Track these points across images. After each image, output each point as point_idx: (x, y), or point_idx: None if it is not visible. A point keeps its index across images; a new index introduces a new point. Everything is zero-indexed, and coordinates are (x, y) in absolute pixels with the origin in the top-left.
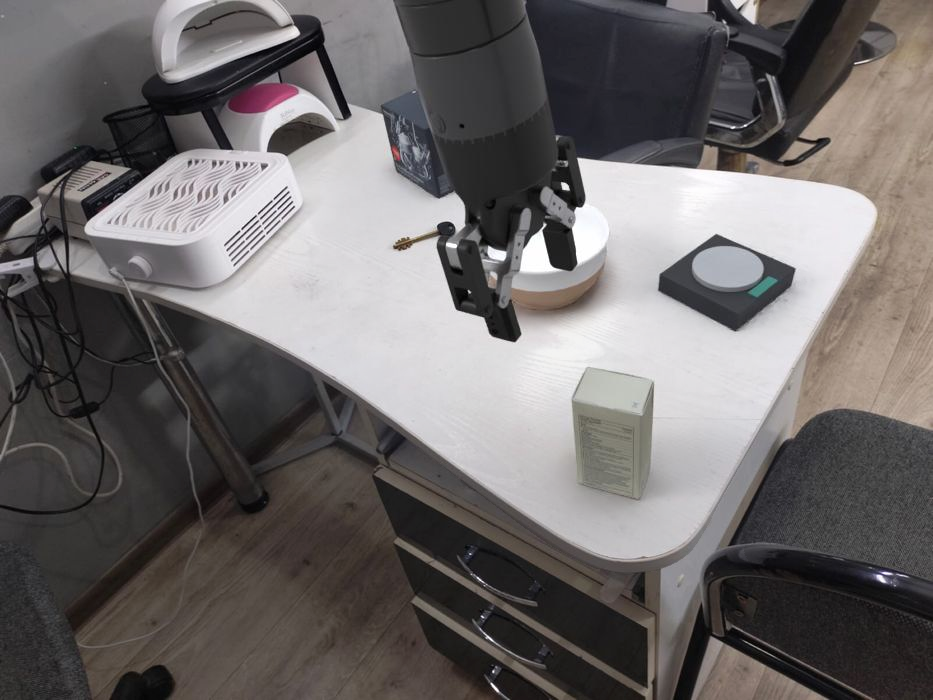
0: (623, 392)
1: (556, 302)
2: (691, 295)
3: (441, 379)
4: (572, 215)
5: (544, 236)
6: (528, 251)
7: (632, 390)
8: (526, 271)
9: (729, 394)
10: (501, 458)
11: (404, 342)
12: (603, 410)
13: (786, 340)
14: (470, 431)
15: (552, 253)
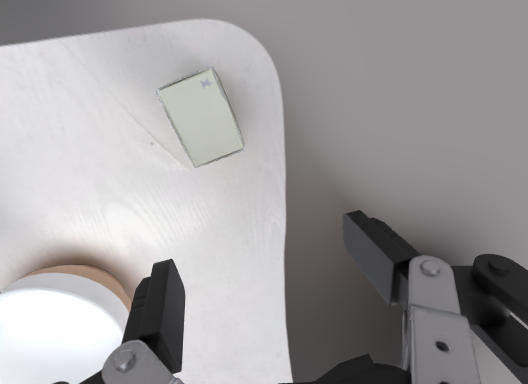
0: (199, 107)
1: (101, 272)
2: None
3: (235, 275)
4: (114, 373)
5: (181, 353)
6: (69, 336)
7: (189, 100)
8: (110, 317)
9: (52, 78)
10: (260, 187)
11: (227, 320)
12: (231, 111)
13: None
14: (257, 222)
15: (180, 310)
